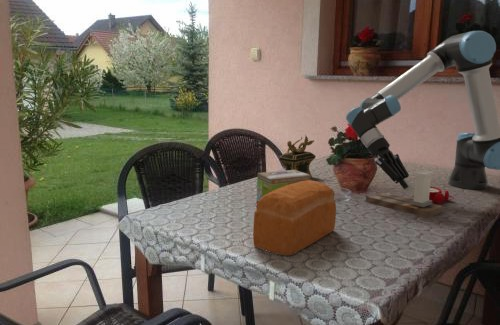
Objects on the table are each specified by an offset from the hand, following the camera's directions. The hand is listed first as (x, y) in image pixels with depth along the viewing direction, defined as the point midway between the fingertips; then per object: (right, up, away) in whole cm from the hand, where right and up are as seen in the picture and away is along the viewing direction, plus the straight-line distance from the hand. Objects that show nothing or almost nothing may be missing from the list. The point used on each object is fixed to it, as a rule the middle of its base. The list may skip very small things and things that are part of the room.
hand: (413, 195), depth 143 cm
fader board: (-3, -4, +4) cm, 6 cm away
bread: (-45, -11, -26) cm, 53 cm away
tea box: (-47, -7, -7) cm, 48 cm away
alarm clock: (+12, -3, +13) cm, 18 cm away
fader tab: (+2, -3, -2) cm, 4 cm away
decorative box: (-34, +4, +50) cm, 60 cm away
